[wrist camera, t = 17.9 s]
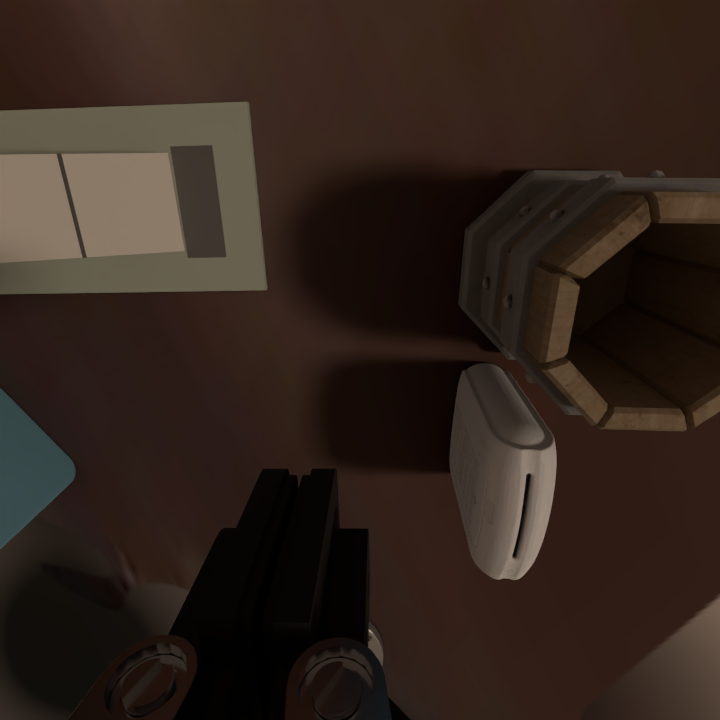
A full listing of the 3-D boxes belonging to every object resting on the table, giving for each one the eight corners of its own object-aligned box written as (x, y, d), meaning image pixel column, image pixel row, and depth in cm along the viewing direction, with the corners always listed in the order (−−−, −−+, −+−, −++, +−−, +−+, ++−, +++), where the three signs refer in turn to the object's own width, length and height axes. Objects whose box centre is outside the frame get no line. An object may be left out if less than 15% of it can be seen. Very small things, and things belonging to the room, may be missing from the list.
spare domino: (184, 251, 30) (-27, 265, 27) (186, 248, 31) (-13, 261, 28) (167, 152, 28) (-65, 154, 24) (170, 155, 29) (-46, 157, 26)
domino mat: (267, 288, 33) (266, 290, 32) (-143, 295, 34) (-149, 296, 34) (249, 103, 28) (247, 101, 28) (-219, 120, 30) (-227, 119, 30)
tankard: (453, 351, 34) (505, 465, 20) (468, 171, 29) (550, 152, 15) (723, 356, 33) (977, 478, 19) (782, 172, 28) (1172, 153, 14)
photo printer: (495, 475, 37) (546, 602, 26) (444, 473, 38) (472, 598, 26) (513, 362, 34) (582, 451, 22) (456, 360, 34) (496, 446, 22)
